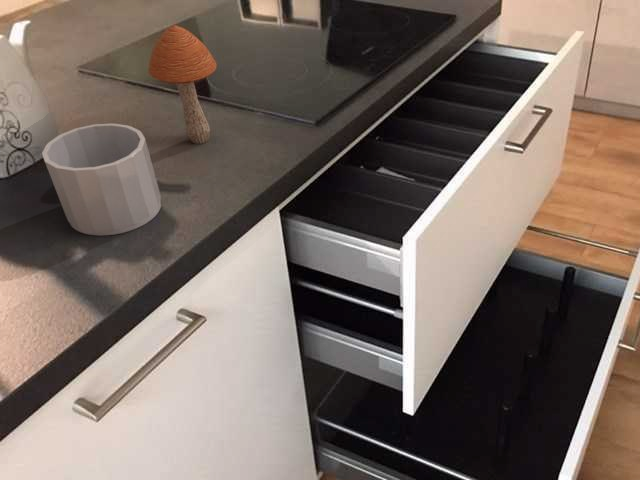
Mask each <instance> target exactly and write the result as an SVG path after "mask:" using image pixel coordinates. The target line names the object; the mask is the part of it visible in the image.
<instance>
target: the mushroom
mask: <svg viewBox="0 0 640 480" xmlns="http://www.w3.org/2000/svg"><path fill="white" fill-rule="evenodd" d="M151 52H152V53H151V54H150V59H149V65H148V73H149V75H150V76H151V77H153V79H156V80H158V81H159V82H163V83H168V84H175V85H176V89H177V91H178V94H179V97H180V100H181V104H182V111H183V119H184V126H185V133H186V136H187V137H188V138H189V140H190V141H191V142H192V143H193V144H204V143H206V142H208V141H209V140H210V135H211V128H210V125H209V123H208V120H207V118H206V115H205V113H204V111H203V109H202V107H201V105H200V101H199V99H198V95H197V90H196V85H195V82H199V81H201V80H203V79H204V80H205V79H207V78H208V77H209V76H211V75H212V74H213V73H214V72H215V71H216V69H217V65H218V64H217V62H216V60H215V58H214V57H213V55H212V54H211V52H210V50H209V49H208V47H206V45H205V44H204V43H203V42H202V41H201V40H200V39H199V38H198V37H197V36H195V35H194V34H193V33H192V32H191V31H189V30H187V29H185V28H184V27H181V26H179V25H175V24H173V25H171V26H170V27H169V28H167V29H166V30H165V31H164V32H163V33H162V34H161V35H160V37H159V38H158V40H157V41H156V42H155V45H154V47H153V49H152V51H151Z"/></svg>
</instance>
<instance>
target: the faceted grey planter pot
mask: <svg viewBox="0 0 640 480" xmlns="http://www.w3.org/2000/svg"><path fill="white" fill-rule="evenodd" d="M41 155H42V159H43V161H44V163H45V167H46V169H47V171H48V174H49V176H50V179H51V182H52V184H53V186H54V189H55V191H56V194H57V196H58V199H59V202H60V204H61V207H62V209H63V212H64V215H65V217H66V220H67V222H68V224H69V226H70V227H71V228H72V229H73V230H75V231H77V232H79V233H81V234H84V235H89V236H99V237H100V236H102V237H103V236H105V237H106V236H113V235H120V234H124V233H127V232H131V231H134V230H137V229H138V228H139V229H140V228H141V227H142V226H144V225H146V224H148V223H149V222H150V221H152V220H153V219H154V218H155V217H157V215H158V214H159V212H160V210H161V208H162V196H161V192H160V188H159V184H158V181H157V178H156V177H157V176H156V173H155V170H154V165H153V162H152V159H151V154H150V151H149V147H148V144H147V140H146V138H145V136H144V134H143V132H142V131H141V130H139V129H137V128H135V127H133V126H131V125H126V124H121V123H120V124H119V123H114V122H113V123H95V124H90V125H84V126H80V127H76V128H73V129H71V130H68V131H66V132H63V133H61V134H58V135H57V136H56V137H54V138H52V140H50V141H48V142H47V143H46V145H45V146H44V148H43V150H42V152H41Z"/></svg>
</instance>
